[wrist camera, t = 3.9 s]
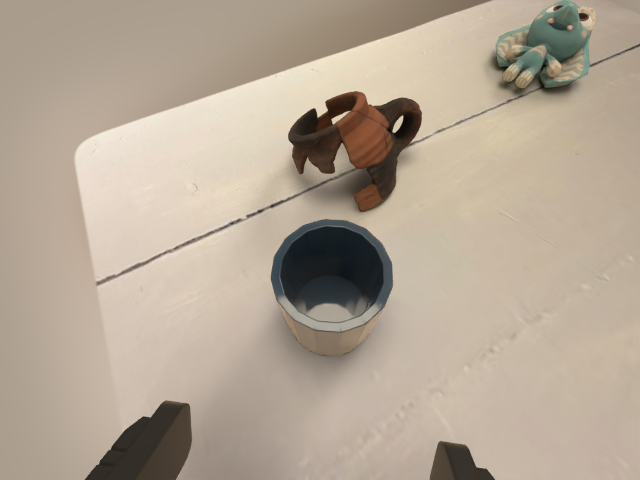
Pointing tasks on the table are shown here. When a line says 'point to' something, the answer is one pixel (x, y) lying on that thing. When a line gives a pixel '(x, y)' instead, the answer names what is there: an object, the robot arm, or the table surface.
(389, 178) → the brown broken clay pot
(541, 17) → the stuffed animal
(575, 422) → the table surface
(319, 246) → the cup
